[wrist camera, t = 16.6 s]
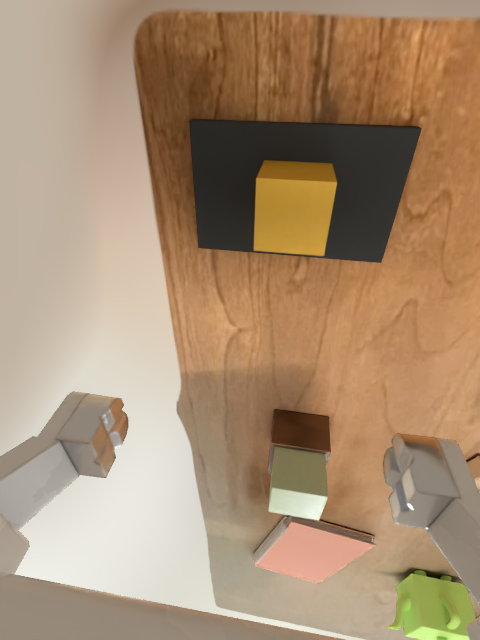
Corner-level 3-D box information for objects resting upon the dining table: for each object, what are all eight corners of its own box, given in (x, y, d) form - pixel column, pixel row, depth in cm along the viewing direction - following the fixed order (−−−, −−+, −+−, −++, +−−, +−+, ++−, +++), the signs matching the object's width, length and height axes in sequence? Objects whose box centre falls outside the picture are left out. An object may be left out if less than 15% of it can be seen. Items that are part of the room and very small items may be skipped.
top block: (260, 224, 28) (253, 250, 24) (264, 160, 25) (256, 177, 21) (321, 228, 27) (324, 256, 23) (332, 163, 24) (337, 181, 20)
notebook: (286, 510, 60) (285, 521, 59) (374, 534, 60) (376, 547, 59) (249, 555, 77) (248, 565, 76) (318, 574, 77) (318, 585, 76)
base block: (270, 439, 48) (267, 472, 44) (274, 409, 43) (271, 443, 39) (320, 446, 47) (321, 481, 43) (328, 416, 43) (330, 452, 39)
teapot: (377, 568, 70) (387, 636, 61) (441, 561, 63) (462, 637, 54) (415, 593, 75) (429, 659, 66) (478, 589, 68) (503, 662, 59)
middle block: (271, 471, 43) (268, 512, 39) (275, 446, 40) (271, 487, 36) (318, 479, 43) (319, 520, 39) (325, 453, 39) (327, 497, 35)
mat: (200, 244, 31) (198, 248, 30) (192, 118, 25) (189, 120, 24) (379, 258, 29) (381, 262, 28) (418, 126, 23) (422, 128, 22)
